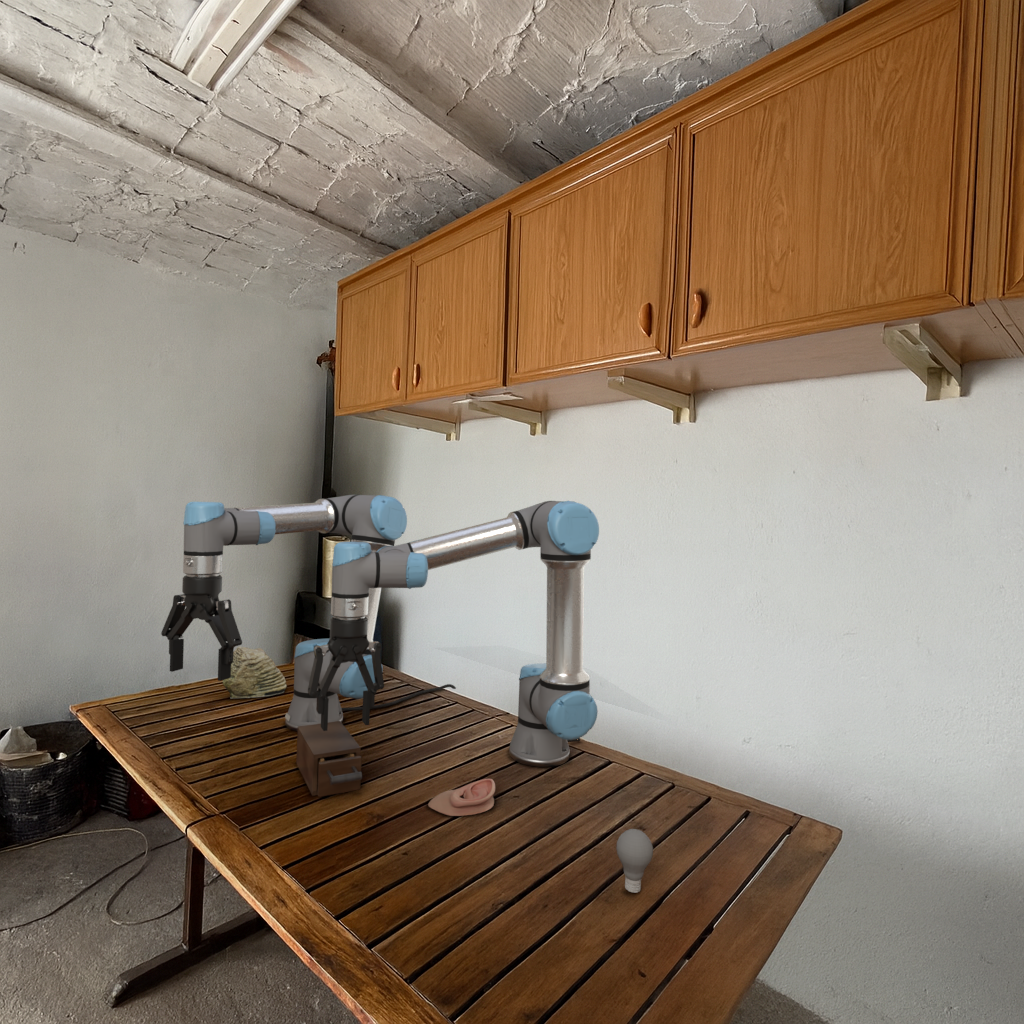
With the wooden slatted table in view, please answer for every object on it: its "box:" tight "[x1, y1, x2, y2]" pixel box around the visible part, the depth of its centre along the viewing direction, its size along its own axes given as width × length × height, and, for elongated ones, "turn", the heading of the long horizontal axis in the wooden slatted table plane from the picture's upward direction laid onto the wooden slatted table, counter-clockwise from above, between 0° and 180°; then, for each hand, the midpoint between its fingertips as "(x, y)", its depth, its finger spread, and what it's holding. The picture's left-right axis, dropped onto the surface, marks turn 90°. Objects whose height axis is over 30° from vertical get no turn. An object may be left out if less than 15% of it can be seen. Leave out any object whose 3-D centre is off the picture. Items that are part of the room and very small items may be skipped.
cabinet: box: [295, 721, 362, 797], centre depth 144 cm, size 18×10×9 cm, turn 29°
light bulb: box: [615, 828, 654, 894], centre depth 106 cm, size 6×6×10 cm
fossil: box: [222, 646, 288, 699], centre depth 198 cm, size 9×18×15 cm, turn 132°
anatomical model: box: [427, 778, 496, 817], centre depth 133 cm, size 13×4×12 cm
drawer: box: [316, 753, 363, 798], centre depth 139 cm, size 22×9×7 cm, turn 29°
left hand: (199, 674), depth 134 cm, fingers open, 13 cm apart
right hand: (345, 725), depth 131 cm, fingers open, 8 cm apart
